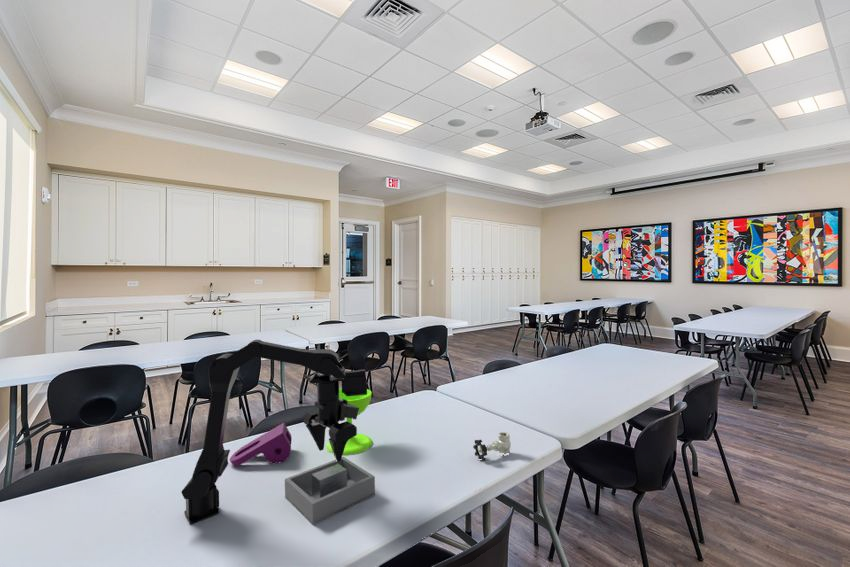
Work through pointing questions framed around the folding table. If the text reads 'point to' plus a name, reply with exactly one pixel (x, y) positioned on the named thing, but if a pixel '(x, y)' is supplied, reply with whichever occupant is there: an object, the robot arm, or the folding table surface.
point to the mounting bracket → (266, 447)
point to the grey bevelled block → (328, 481)
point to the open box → (324, 507)
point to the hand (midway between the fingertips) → (329, 455)
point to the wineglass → (360, 440)
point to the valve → (493, 446)
